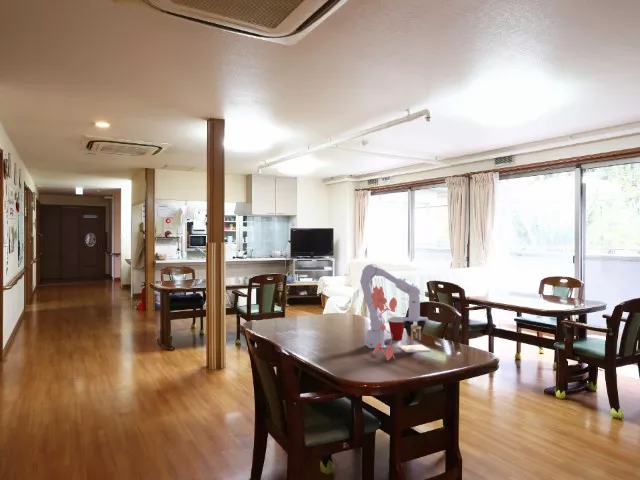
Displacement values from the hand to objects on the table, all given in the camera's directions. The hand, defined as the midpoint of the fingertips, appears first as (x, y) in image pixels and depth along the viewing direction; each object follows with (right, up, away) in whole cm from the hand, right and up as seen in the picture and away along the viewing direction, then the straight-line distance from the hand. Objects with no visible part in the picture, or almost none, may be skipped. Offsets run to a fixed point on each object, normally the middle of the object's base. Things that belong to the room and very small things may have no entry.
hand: (414, 335), depth 229 cm
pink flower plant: (-21, -7, -17) cm, 28 cm away
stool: (0, -2, 0) cm, 2 cm away
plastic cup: (-5, -7, +22) cm, 24 cm away
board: (0, -7, 0) cm, 7 cm away
